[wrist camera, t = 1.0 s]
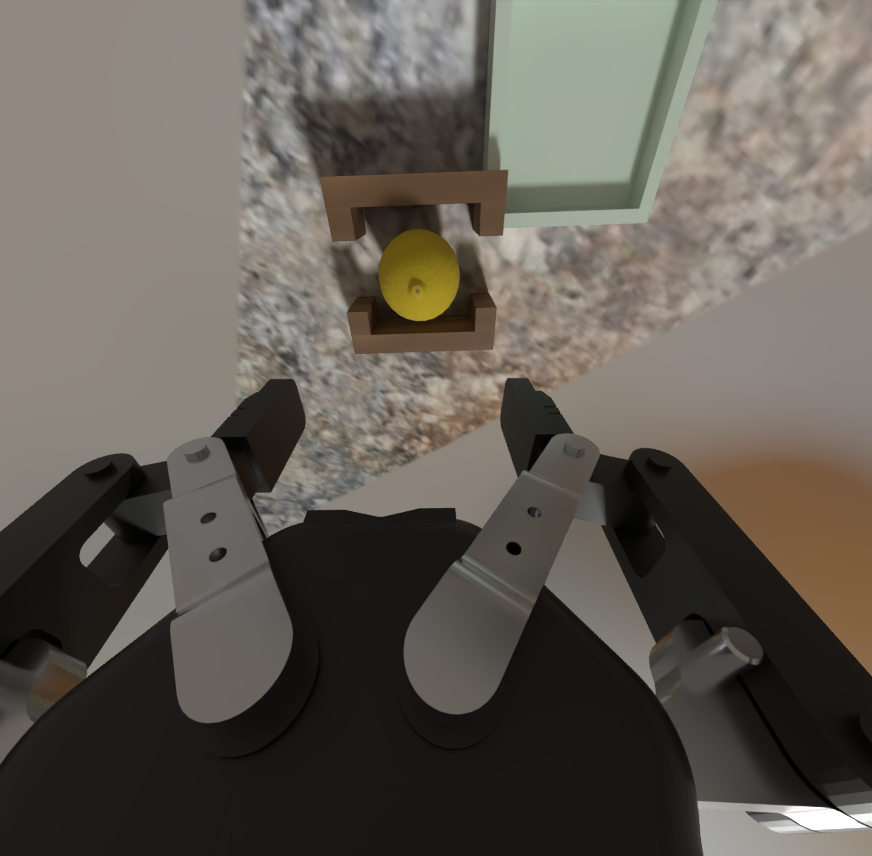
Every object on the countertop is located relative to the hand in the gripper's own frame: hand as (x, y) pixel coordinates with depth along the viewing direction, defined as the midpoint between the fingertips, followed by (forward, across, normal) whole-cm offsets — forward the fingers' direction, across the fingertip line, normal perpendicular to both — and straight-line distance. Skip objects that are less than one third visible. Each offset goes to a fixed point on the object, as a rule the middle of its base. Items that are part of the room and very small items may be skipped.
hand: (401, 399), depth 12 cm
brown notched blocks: (+17, -1, -2) cm, 17 cm away
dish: (+17, -10, -10) cm, 22 cm away
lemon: (+17, -1, -2) cm, 17 cm away
